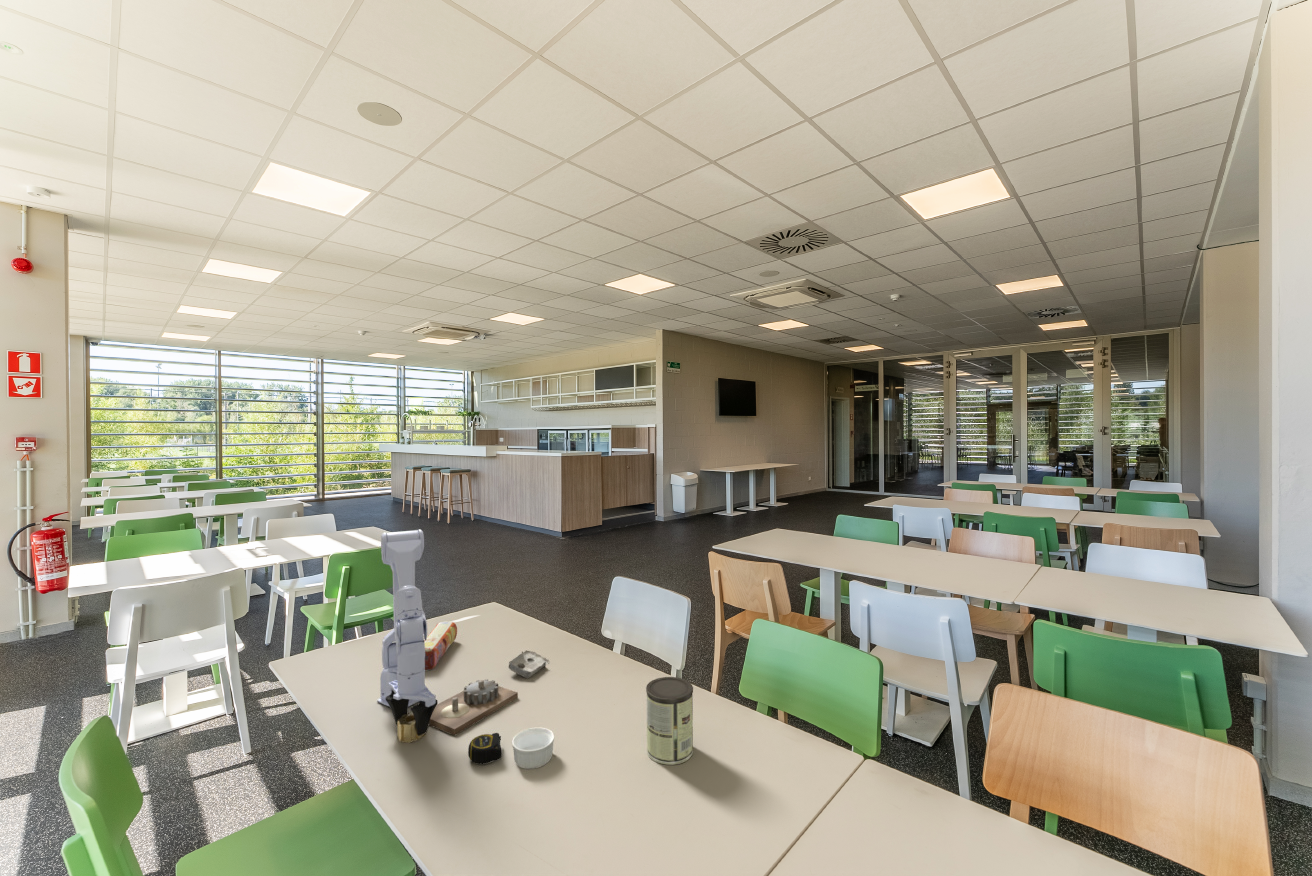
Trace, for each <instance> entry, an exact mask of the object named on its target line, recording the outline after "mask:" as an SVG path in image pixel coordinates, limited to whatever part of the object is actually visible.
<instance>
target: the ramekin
mask: <svg viewBox="0 0 1312 876" xmlns="http://www.w3.org/2000/svg"><path fill="white" fill-rule="evenodd" d="M554 741H555V734H554V732H553V731H552V730H551V729H549V728H546V727H540V726H539V727H538V726H537V727H531V728H526V729H523V730H521V731H519V732H518V733H516V735H514V736H513V738H512V741H511V746H512V748H513V749H512V750H513V758H514V763H515V764H516V765H517V766H518V767H519V768H522V769H525V770H533V769H538V768H541V767H543V766H545V765H546V764H547V763H549V761H550V760H551V759H552V757H553V751H554Z"/></svg>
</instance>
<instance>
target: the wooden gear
mask: <svg viewBox="0 0 1312 876" xmlns="http://www.w3.org/2000/svg"><path fill="white" fill-rule="evenodd" d="M397 724H398V726H397V739H398V742H399V743H407V744H409V743H412V742H416V741H420V740H421V739H422V738H423V736H424V735H426V733H424V734H422V735H420V736H418V735H417V732H416V723H415V718H414V715H413V713H412V712H410V713H407V715H406V714H405V715H403V716H402V717H401V718H400V719H398V721H397Z"/></svg>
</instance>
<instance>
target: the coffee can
mask: <svg viewBox="0 0 1312 876" xmlns="http://www.w3.org/2000/svg"><path fill="white" fill-rule="evenodd" d="M645 692H646V754H647V756H648V758H650V759H651V760H652V761H653V762H655V763H658V764H660V765H665V766H667V765H669V766H673V765H679V764H682V763H685V762H687V761H688V760H689V759H690V758H691V757H692V756H693V754H694V748H693V745H694V744H693V742H694V741H693V739H694V738H693V737H694V735H693V732H694V730H693V725H694V723H693V719H694V718H693V713H694V712H693V698H694V697H693V693H694V687H693V684H692V682H690V681H688V680H686V679H684V678H680V677H675V676H665V677H658V678H655V679H652V680H650V681H649V682H648V683H647V684H646V686H645Z"/></svg>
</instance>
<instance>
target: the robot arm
mask: <svg viewBox="0 0 1312 876" xmlns="http://www.w3.org/2000/svg"><path fill="white" fill-rule="evenodd" d="M380 549H381V550H380V552H381V561H382V564H384V565H388V566H390V569H391V571H392V592H393V593H392V597H393V598H392V599H393V602H392V603H393V606H392V607H393V628H392V630H390V631H389V632H388V633H387V634H386V635H384V637H383V639H382V647H381V664H382V668H383V669H382V671H381V672H380V677H379V678H380V680H379V681H380V683H379V684H380V688H379V689H380V690H379V691H380V698H377V701H376V702H377V703H380V704H382V705H384V706H387V707H389V708H390V709H391V712H392V716H393V719H394V723H395V725H396V726H397V727H398V724H397V721H398V719H400V718H401V717H402V716H403V715H405V714H406V715H407V714H408V710H409V709H408V707H410V712H411V713H413V715H414V718H415V723H416V732H417V735H418V736H420V735H422V734H424V733H425V734H426V733H427V732H428V729H429V726H430V725H429V721H430V718H431V715H432V713H433V711H434V709H435V707H436V705H437V704H439V703H438V699H437V698H436V694H434V693H432V692H431V690H430V689H429V688H428V687H427V686H426V677H425V676H426V674H425V673H426V670H425V641H426V639H427V637H428V623H427V622H428V621H427V618H426V614H425V611H424V609H423V600H422V591H421V589H420V588H418V587H417V586H416V562H417V561H420V560H421V557H422V556H423V553H424V550H425V535H424V531H423V530H422V529H419V528H418V529H414V530H405V531H404V530H403V531H391V532H384V531H383V533H381V535H380ZM424 640H425V641H424ZM414 704H415V705H414ZM412 705H413V706H412ZM411 706H412V707H411Z"/></svg>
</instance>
